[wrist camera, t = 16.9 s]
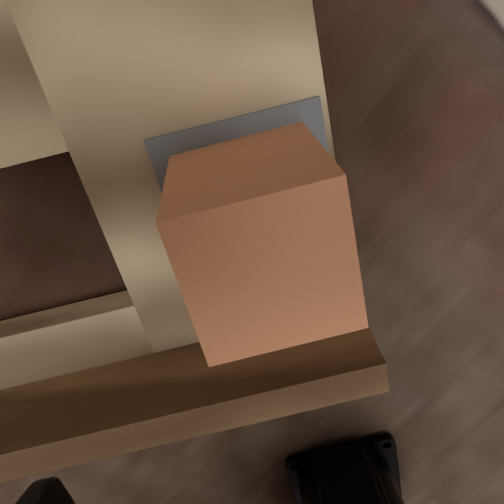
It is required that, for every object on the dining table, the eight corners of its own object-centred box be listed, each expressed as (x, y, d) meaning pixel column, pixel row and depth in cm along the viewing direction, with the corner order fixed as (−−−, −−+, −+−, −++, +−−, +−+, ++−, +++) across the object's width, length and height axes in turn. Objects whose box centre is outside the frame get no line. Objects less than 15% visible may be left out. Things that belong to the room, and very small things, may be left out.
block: (324, 240, 20) (368, 328, 14) (207, 269, 20) (208, 367, 15) (302, 121, 17) (345, 174, 12) (169, 155, 18) (155, 223, 12)
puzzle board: (352, 316, 24) (390, 397, 19) (-13, 403, 24) (-67, 504, 19) (284, -127, 15) (321, -186, 10) (-277, 20, 16) (-488, 30, 11)
